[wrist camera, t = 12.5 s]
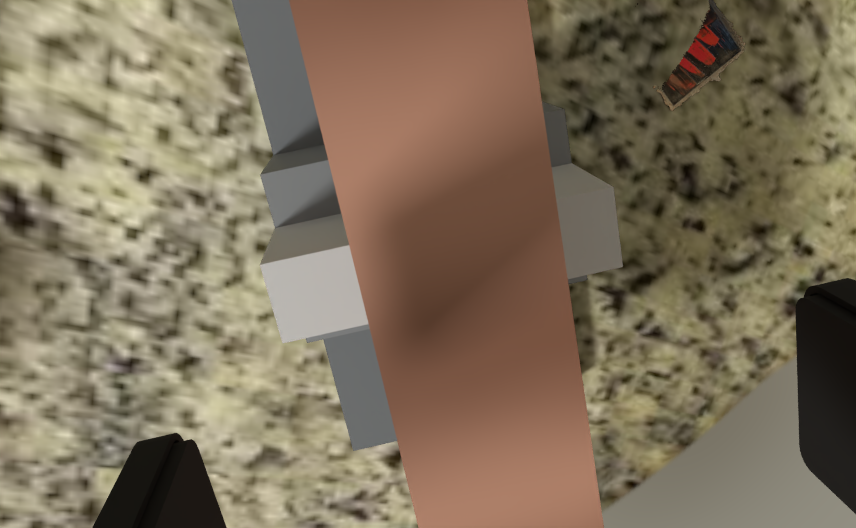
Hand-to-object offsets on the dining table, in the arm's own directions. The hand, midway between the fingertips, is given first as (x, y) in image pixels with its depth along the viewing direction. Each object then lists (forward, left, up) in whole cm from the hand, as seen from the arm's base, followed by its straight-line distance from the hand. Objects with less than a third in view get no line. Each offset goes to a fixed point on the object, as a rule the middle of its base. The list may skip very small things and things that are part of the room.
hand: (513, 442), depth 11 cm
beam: (0, 0, -10) cm, 10 cm away
